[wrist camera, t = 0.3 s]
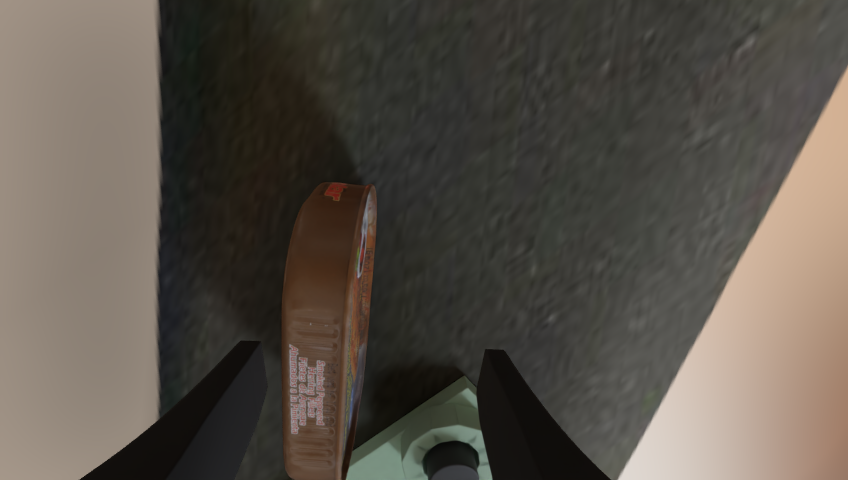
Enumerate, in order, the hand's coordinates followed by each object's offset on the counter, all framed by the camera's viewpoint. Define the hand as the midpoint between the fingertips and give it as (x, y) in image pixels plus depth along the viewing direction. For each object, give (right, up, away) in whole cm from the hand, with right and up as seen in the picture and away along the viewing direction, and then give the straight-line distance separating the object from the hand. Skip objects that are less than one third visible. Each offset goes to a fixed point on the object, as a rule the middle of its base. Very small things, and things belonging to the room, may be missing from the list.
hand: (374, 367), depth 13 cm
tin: (-3, +1, +10) cm, 11 cm away
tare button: (+3, -9, +12) cm, 15 cm away
